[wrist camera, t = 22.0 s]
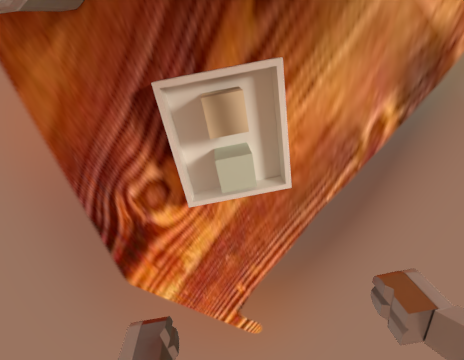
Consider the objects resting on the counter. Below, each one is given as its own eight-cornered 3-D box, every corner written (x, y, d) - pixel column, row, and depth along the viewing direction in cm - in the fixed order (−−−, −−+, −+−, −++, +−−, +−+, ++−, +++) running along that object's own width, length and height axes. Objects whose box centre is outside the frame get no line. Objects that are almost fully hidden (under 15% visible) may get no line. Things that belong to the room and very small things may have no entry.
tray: (274, 57, 32) (282, 57, 28) (284, 176, 40) (291, 187, 36) (157, 80, 32) (150, 82, 28) (190, 194, 40) (188, 207, 36)
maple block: (238, 86, 32) (243, 89, 28) (243, 122, 34) (249, 131, 30) (202, 93, 32) (200, 98, 28) (210, 129, 34) (210, 139, 30)
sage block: (246, 142, 36) (252, 153, 31) (251, 171, 38) (256, 186, 33) (214, 148, 36) (214, 160, 31) (220, 177, 38) (222, 193, 33)
